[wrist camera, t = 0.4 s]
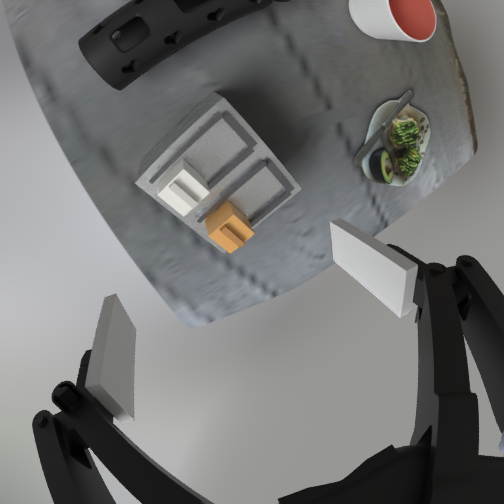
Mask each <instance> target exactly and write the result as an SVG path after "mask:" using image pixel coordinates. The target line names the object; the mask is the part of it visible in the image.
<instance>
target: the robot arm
mask: <svg viewBox="0 0 504 504" xmlns="http://www.w3.org/2000/svg"><path fill="white" fill-rule="evenodd" d="M330 226H331V236H332V247H333V259H334V261H335V262H336V263H337V264H338V265H339V266H341V267H342V268H343V269H344V270H345V271H347V272H348V273H349V274H350V275H351V276H352V277H354V278H355V279H356V280H357V281H358V282H360V283H361V284H362V285H363V286H364V287H365V288H367V289H368V290H369V291H370V292H371V293H372V294H374V295H375V296H376V297H377V298H378V299H379V300H380V301H382V302H383V303H384V304H385V305H386V306H387V307H388V308H390V309H391V310H392V311H393V312H394V313H395V314H396V315H398V316H399V317H400V318H402V317H403V316H405V315H407V314H408V313H410V312H411V311H412V305H413V302H414V303H415V304H416V305H417V306H418V308H417V313H416V318H415V323H418V354H419V355H418V357H419V358H418V360H419V361H418V362H419V363H418V394H417V409H416V421H415V428H414V432H413V435H412V438H411V442H410V445H409V446H403V447H399V448H394V447H393V445H390V446H389V447H387V448H385V449H384V450H382V451H380V452H379V453H377V454H375V455H374V456H372V457H370V458H368V459H367V460H366V461H364V462H363V463H362V464H361V465H360V466H359V467H358V468H356V469H355V470H354V471H353V472H352V473H351V474H349V475H348V476H347V477H346V478H344V479H343V480H341V481H338V482H334V483H329V484H325V485H320V486H315V487H310V488H306V489H303V490H301V491H298V492H295V493H293V494H290V495H287V496H284V497H282V498H279V499H278V501H279V504H504V457H494V456H484V455H478V451H479V414H478V399H477V395H476V394H475V393H471V391H470V382H469V374H468V373H469V372H468V363H467V356H466V349H465V342H464V337H465V339H466V341H467V344H468V346H469V348H470V350H471V353H472V355H473V357H474V360H475V362H476V365H477V367H478V370H479V372H480V375H481V378H482V380H483V383H484V386H485V389H486V392H487V395H488V398H489V401H490V404H491V407H492V410H493V413H494V416H495V419H496V422H497V424H498V426H499V429H500V431H501V433H502V438H501V439H502V440H501V442H500V444H499V450H500V451H501V452H502V453H504V295H503V294H502V292H501V291H500V290H499V288H498V287H497V285H496V284H495V283H494V281H493V280H492V279H491V277H490V276H489V275H488V273H487V272H486V271H485V270H484V268H483V267H482V266H481V265H480V263H479V262H478V261H477V260H476V259H475V258H473V257H471V256H467V255H463V256H459V257H458V258H457V261H456V266H452V267H448V268H446V267H445V266H444V265H442V264H439V263H429V264H426V263H424V262H422V261H421V260H419V259H417V258H416V257H414V256H413V255H411V254H409V253H408V252H406V251H404V250H403V249H401V248H400V247H398V246H395V245H391V244H387V245H385V244H384V243H382V242H380V241H379V240H377V239H375V238H374V237H372V236H370V235H369V234H367V233H365V232H364V231H362V230H360V229H358V228H357V227H355V226H353V225H351V224H350V223H348V222H346V221H344V220H343V219H341V218H340V219H337V220H334V221H331V222H330ZM463 335H464V336H463ZM135 341H136V329H135V327H134V325H133V323H132V322H131V320H130V318H129V316H128V315H127V313H126V311H125V309H124V307H123V306H122V304H121V302H120V300H119V298H118V296H117V294H114V295H111V296H108V297H105V299H104V302H103V306H102V310H101V313H100V318H99V321H98V325H97V329H96V333H95V338H94V342H93V347H92V349H91V350H87V351H86V352H85V354H84V355H83V357H82V359H81V364H80V368H79V374H78V378H77V383H76V386H75V385H74V384H73V383H72V382H71V381H64V382H61V383H60V384H58V385H57V386H56V387H55V389H54V390H53V393H52V401H53V403H54V404H55V405H56V406H57V407H59V409H61V410H62V411H61V412H59V413H57V414H55V415H52V414H51V413H50V412H49V411H47V410H42V411H40V412H38V414H36V415H35V417H34V419H33V422H32V427H33V433H34V437H35V442H36V446H37V450H38V454H39V458H40V462H41V465H42V469H43V472H44V476H45V479H46V482H47V485H48V488H49V491H50V494H51V496H52V499H53V502H54V504H116V503H115V501H114V499H113V497H112V496H111V494H110V492H109V490H108V489H107V487H106V485H105V483H104V481H103V479H102V477H101V475H100V473H99V471H98V469H97V467H96V466H95V463H94V461H93V459H92V456H91V454H90V452H89V450H88V448H89V447H90V449H91V450H92V451H93V452H94V454H95V455H96V456H97V457H98V458H99V460H100V461H101V462H102V463H103V464H104V465H105V466H106V468H107V469H108V470H109V471H110V472H111V473H112V474H113V475H114V476H115V477H116V478H117V480H118V481H119V482H120V483H121V484H122V485H123V486H124V487H125V488H126V489H127V490H128V491H129V492H130V493H131V494H132V495H133V496H134V497H135V498H136V499H138V500H139V501H140V502H141V503H142V504H214V503H212V502H211V501H209V500H207V499H206V498H204V497H203V496H201V495H200V494H198V493H197V492H195V491H193V490H192V489H191V488H189V487H188V486H187V485H185V484H184V483H182V482H181V481H180V480H178V479H177V478H176V477H174V476H173V475H172V474H170V473H169V472H168V471H166V470H165V469H164V468H162V467H161V466H160V465H159V464H157V463H156V462H155V461H154V460H153V459H151V458H150V457H149V456H148V455H147V454H146V453H144V452H143V451H142V450H141V449H140V448H139V447H138V446H137V445H135V444H134V443H133V442H132V441H131V440H130V439H129V438H128V437H127V436H126V435H125V434H124V433H123V432H122V431H120V430H119V429H118V428H117V427H116V426H115V425H114V424H113V416H114V417H115V418H116V419H117V420H118V421H119V422H120V423H121V422H127V421H132V420H134V363H135Z"/></svg>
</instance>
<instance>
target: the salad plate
mask: <svg viewBox="0 0 504 504" xmlns="http://www.w3.org/2000/svg"><path fill="white" fill-rule="evenodd" d="M413 97H414V93H413V92H412V91H411V90H408V91H407V92H406V93H405V94H404V95H403V96H402V97H401V98H400V99H398V100H389V101H387V102H385V103H384V104H382V105H381V106H379V107H378V108H377V109H376V111H375V112H374V114H373V117H372V119H371V121H370V125H369V128H368V132H367V135H366V138H365V141H364V144H363V146H362V147H361V149H360V150H359V152H358V154H357V155H356V157H355V159H354V165H358V164H359V165H360V167H361V169H362V171H363V173H364V175H365V176H366V177H367V178H368V179H369V180H371V181H373V182H376V183H382V184H388V185H392V186H399V187H401V186H405V185H407V184H409V183H410V182H411V181H412V180H413V179H414V178H415V177H416V175H417V174H418V171H419V169H420V166H421V163H422V160H423V157H424V154H425V150H426V148H427V145H428V142H429V138H430V133H431V130H430V124H429V121H428V119H427V117H426V115H425V114H424V113H422V112H420V111H419V110H417V109H416V108H414V107H411V106H410V105H409V102H410V101H411V100H412V98H413ZM383 132H384V133H383ZM382 133H383V134H382ZM414 144H417V145H416V148H414V147H413V145H414ZM397 149H398V150H397ZM396 150H397V152H396ZM395 171H396V172H395Z"/></svg>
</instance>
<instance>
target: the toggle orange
mask: <svg viewBox="0 0 504 504" xmlns="http://www.w3.org/2000/svg"><path fill="white" fill-rule="evenodd" d="M205 224H206V228H207V233H208V236H209V237H210V238H211V239H212V240H214V241H215V242H216V243H217V244H219V245H220V246H221V247H222V248H224V249H225V250H226V251H227V252H229V253H230V254H231V253H232V252H233V251H234V250H236V249H237V248H238V247H240V248H241V247H242V246H243V245H244V244H245V243H244V242H245V241H247V240H248V239H249V238H250V237H251V236H253V235H254V234H255V233H254V231H253V229H252V227H251V225H250V223H249V221H248V219H247V218H246V217H245V216H244V215H243V214H242V213H241V212H240V211H239V210H238V209H237V208H236V207H234V206H233V205H232V204H231V203H230V202H229V201H227V202H226V203H225V204H223V205H222V206H221V207H220V208H219V209H218V210H217V211H215V212H214V213H213V214H212V215H211V216H210V217H209V218H208V219H207V220H205Z"/></svg>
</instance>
